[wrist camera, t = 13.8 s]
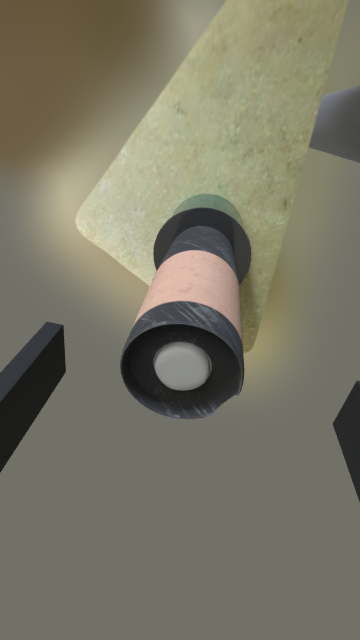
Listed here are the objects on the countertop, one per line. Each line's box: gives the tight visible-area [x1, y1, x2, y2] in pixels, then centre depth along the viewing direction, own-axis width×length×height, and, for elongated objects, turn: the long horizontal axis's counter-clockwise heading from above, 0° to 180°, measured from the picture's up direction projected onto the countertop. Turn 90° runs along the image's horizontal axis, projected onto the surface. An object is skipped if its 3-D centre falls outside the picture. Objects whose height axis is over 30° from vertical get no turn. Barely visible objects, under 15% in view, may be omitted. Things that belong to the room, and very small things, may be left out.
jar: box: [153, 194, 251, 284], centre depth 41 cm, size 11×11×10 cm
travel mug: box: [120, 226, 244, 419], centre depth 28 cm, size 8×8×20 cm
